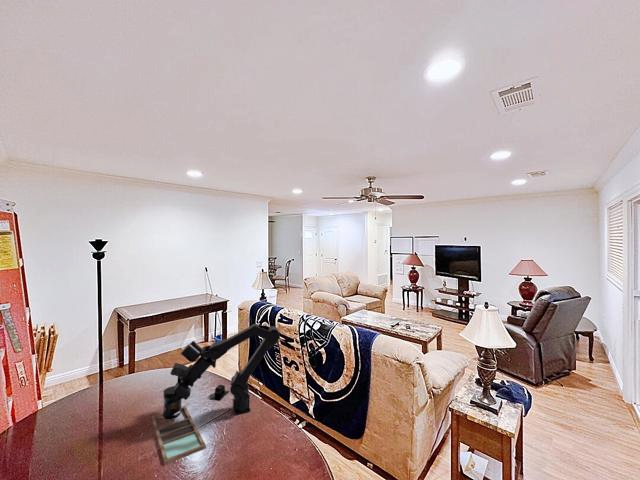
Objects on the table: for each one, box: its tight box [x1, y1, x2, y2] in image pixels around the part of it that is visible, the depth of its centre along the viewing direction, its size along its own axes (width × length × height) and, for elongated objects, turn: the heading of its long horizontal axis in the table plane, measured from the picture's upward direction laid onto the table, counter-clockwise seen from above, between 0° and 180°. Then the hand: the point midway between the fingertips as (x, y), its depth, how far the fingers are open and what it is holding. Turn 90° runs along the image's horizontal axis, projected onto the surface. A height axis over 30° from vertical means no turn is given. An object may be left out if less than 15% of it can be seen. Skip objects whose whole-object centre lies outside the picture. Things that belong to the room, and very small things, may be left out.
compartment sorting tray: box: [150, 406, 207, 466], centre depth 108 cm, size 31×13×1 cm, turn 38°
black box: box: [208, 384, 230, 402], centre depth 136 cm, size 12×7×5 cm, turn 169°
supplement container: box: [162, 385, 182, 421], centre depth 116 cm, size 7×7×10 cm
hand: (168, 399), depth 116 cm, fingers closed on supplement container, 7 cm apart
